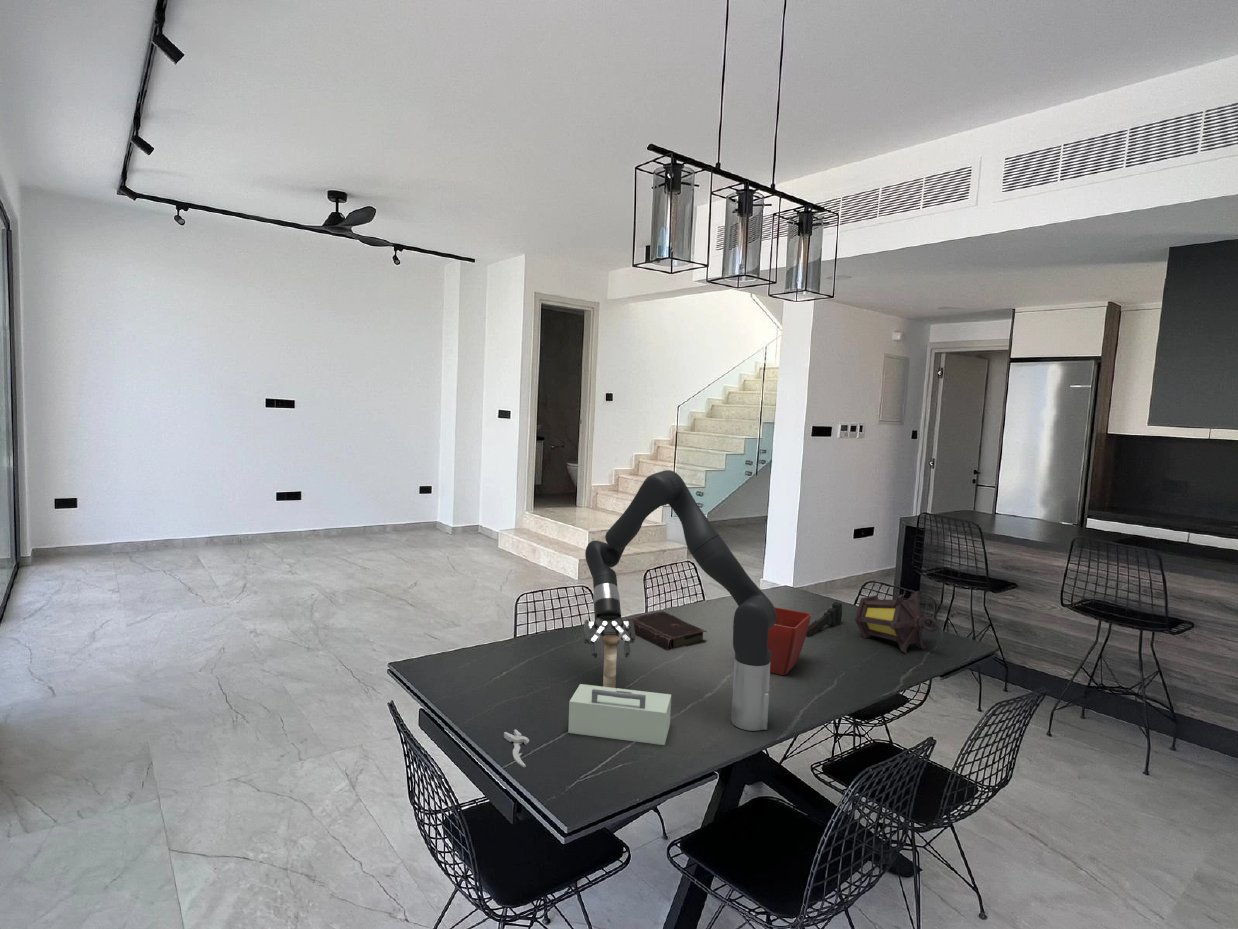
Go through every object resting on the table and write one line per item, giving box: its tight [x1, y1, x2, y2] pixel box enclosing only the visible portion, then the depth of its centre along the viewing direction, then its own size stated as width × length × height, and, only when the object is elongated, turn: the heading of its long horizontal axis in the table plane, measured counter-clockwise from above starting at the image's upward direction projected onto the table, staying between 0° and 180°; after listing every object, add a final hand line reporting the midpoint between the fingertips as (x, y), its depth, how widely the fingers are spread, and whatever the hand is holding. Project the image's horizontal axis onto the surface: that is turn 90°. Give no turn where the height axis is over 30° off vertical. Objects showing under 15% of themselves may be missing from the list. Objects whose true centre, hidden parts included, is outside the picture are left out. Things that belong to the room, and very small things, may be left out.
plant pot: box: [768, 606, 812, 676], centre depth 223 cm, size 19×19×17 cm
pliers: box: [503, 729, 530, 768], centre depth 165 cm, size 10×2×15 cm
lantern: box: [855, 590, 939, 655], centre depth 248 cm, size 22×23×30 cm
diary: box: [624, 611, 708, 652], centre depth 249 cm, size 19×25×5 cm
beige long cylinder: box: [602, 635, 620, 688], centre depth 189 cm, size 4×4×19 cm
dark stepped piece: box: [805, 601, 843, 638], centre depth 263 cm, size 8×3×25 cm
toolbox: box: [567, 683, 672, 746], centre depth 174 cm, size 24×11×12 cm, turn 79°
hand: (611, 656), depth 188 cm, fingers open, 8 cm apart
